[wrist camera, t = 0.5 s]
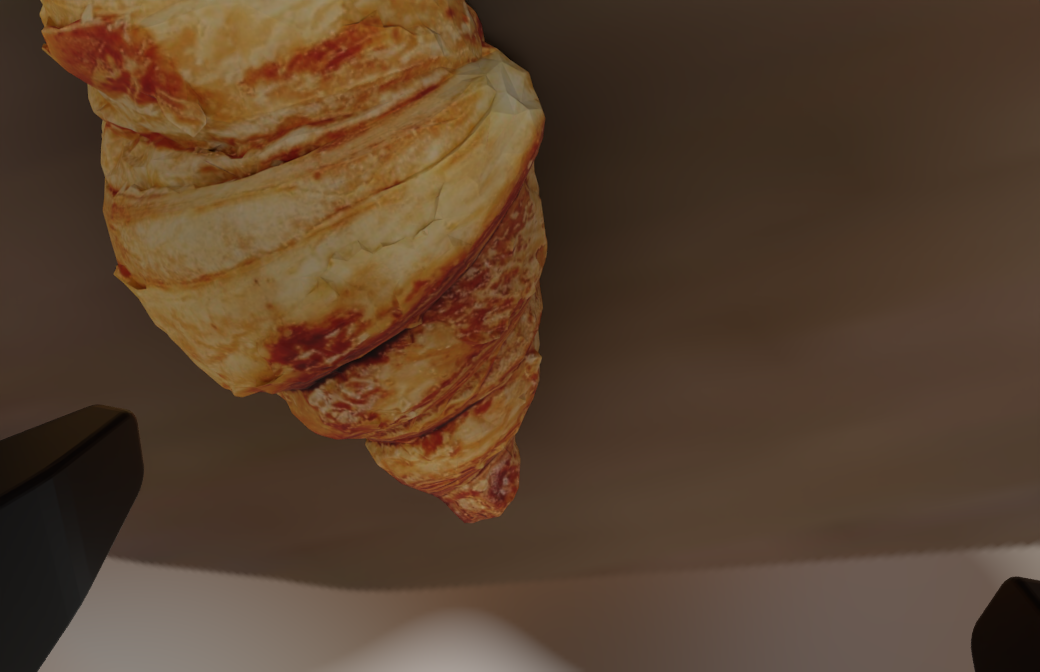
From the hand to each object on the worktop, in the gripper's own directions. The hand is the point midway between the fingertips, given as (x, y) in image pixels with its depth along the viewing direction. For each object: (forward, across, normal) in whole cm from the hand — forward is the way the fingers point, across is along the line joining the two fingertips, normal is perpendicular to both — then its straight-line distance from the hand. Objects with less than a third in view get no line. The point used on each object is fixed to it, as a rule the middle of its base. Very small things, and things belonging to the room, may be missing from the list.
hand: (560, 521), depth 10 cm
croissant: (+14, -6, -3) cm, 16 cm away
